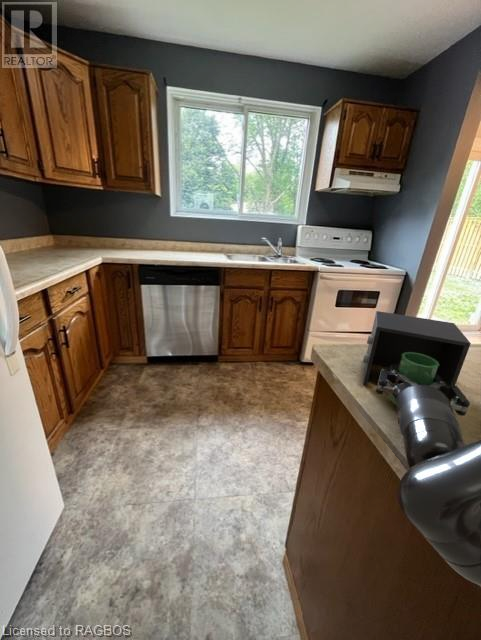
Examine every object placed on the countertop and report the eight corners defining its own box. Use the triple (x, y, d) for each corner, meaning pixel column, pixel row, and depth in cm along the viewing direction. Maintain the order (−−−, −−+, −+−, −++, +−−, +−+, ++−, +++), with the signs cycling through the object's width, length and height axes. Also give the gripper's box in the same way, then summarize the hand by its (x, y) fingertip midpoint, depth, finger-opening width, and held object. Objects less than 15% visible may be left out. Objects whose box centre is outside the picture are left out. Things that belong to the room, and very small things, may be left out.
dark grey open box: (435, 377, 68) (454, 323, 63) (447, 406, 57) (471, 343, 52) (360, 360, 75) (372, 310, 70) (358, 383, 64) (371, 325, 59)
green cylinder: (421, 398, 57) (435, 356, 54) (426, 415, 52) (442, 370, 49) (389, 390, 60) (400, 349, 56) (390, 406, 54) (403, 361, 51)
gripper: (494, 415, 38) (461, 364, 52) (380, 386, 43) (378, 347, 57) (476, 457, 40) (449, 397, 54) (370, 424, 46) (371, 378, 60)
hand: (412, 371), depth 56 cm, fingers closed on green cylinder, 6 cm apart
